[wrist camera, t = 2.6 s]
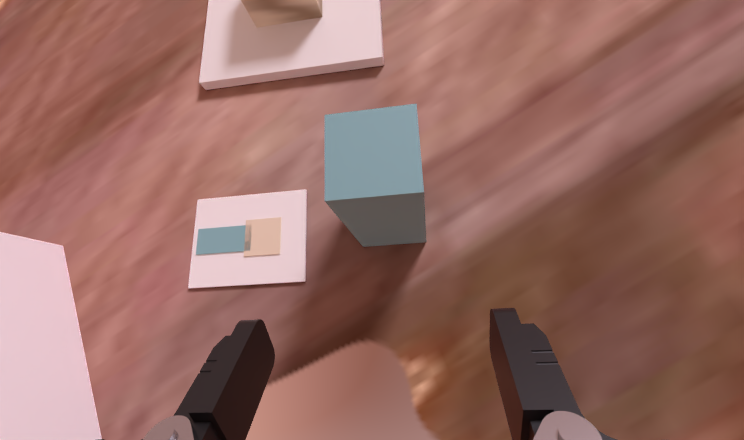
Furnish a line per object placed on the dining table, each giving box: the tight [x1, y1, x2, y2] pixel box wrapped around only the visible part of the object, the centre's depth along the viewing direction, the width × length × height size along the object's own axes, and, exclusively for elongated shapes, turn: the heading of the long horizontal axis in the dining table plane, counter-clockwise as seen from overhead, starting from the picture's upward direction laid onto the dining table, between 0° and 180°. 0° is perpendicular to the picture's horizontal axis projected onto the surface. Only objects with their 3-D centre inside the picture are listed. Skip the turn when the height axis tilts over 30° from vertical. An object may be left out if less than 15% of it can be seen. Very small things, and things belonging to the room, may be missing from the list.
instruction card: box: [188, 189, 307, 288], centre depth 27 cm, size 9×7×1 cm
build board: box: [199, 0, 384, 90], centre depth 33 cm, size 16×16×1 cm
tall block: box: [325, 104, 426, 247], centre depth 22 cm, size 4×4×10 cm
